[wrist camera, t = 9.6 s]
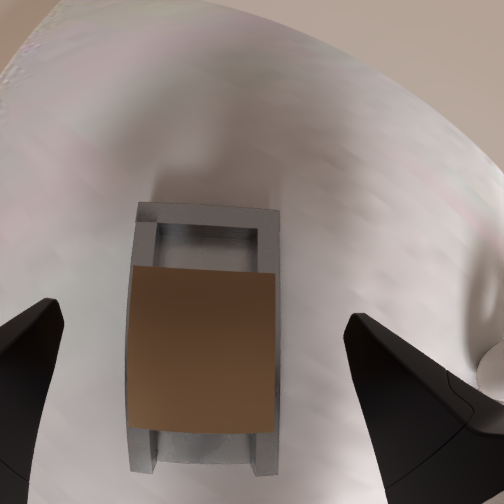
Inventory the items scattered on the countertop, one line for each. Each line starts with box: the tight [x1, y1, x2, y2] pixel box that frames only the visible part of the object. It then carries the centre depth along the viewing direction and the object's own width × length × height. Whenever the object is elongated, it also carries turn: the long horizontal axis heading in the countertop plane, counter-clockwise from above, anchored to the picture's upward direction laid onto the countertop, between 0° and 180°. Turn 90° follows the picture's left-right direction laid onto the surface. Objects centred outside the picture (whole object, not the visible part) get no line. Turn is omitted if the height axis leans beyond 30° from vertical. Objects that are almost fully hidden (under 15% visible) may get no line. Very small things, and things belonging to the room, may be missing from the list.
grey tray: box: [125, 202, 280, 477], centre depth 15 cm, size 15×8×2 cm, turn 179°
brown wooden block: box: [127, 265, 276, 434], centre depth 11 cm, size 4×4×10 cm
